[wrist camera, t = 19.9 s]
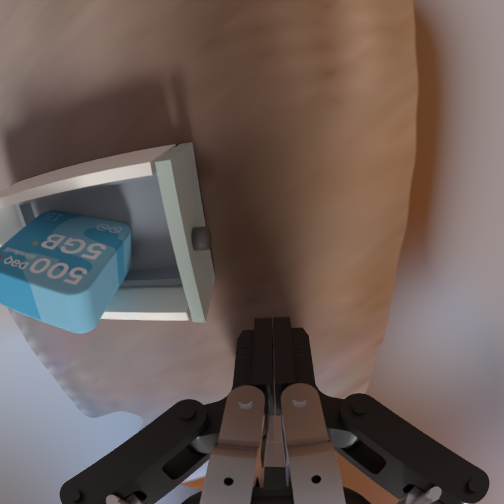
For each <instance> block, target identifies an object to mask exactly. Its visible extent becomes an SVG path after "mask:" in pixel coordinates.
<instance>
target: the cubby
mask: <svg viewBox="0 0 504 504" xmlns="http://www.w3.org/2000/svg"><path fill="white" fill-rule="evenodd" d="M175 147H176V144H173V145H167V146H161V147H155V148H149V149H144V150H138V151H133V152H128V153H123V154H119V155H114V156H109V157H105V158H101V159H96V160H92V161H88V162H84V163H80V164H76V165H73V166H69V167H65V168H61V169H58V170H54V171H51V172H48V173H44V174H41V175H38V176H35V177H31V178H28V179H25V180H22V181H19V182H17V183H15V184H14V185H12V186H10V187H9V188H7V189H5V190H4V191H2V192H0V247H1V246H3V245H4V244H5V243H6V242H7V241H8V240H9V239H11V238H12V237H13V236H14V235H15V234H17V233H18V232H19V231H20V230H21V229H23V227H22V225H21V222H20V219H19V216H18V213H17V210H16V207H15V204H16V203H20V202H24V201H27V200H31V199H35V198H39V197H43V196H47V195H51V194H56V193H60V192H64V191H69V190H74V189H78V188H83V187H88V186H93V185H98V184H103V183H108V182H114V181H119V180H125V179H131V178H137V177H143V176H150V175H153V174H154V173H155V172H157V171H156V166H155V162H156V161H157V160H158V159H160V158H161V157H162V156H164V155H165V154H166V153H168V152H169V151H171V150H172V149H173V148H175ZM190 314H191V313H190V310H189V306H188V302H187V299H186V295H185V292H184V288H183V285H168V286H129V287H119V288H118V289H117V291H116V293H115V294H114V296H113V298H112V300H111V301H110V303H109V305H108V306H107V308H106V310H105V312H104V313H103V315H102V317H101V319H123V320H189V318H190Z"/></svg>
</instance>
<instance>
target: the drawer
mask: <svg viewBox="0 0 504 504" xmlns="http://www.w3.org/2000/svg"><path fill="white" fill-rule="evenodd" d="M155 166H156V171H157V172H155V173H154V174H153V175H150V176H143V177H137V178H131V179H125V180H119V181H114V182H108V183H103V184H98V185H93V186H88V187H83V188H78V189H74V190H69V191H64V192H60V193H56V194H51V195H47V196H43V197H39V198H35V199H31V200H27V201H24V202H20V203H16V204H15V207H16V210H17V213H18V216H19V219H20V222H21V225H22V227H23V228H24V227H25V226H26V225H28V224H29V223H30V222H31V221H33V220H34V219H35V218H36V217H38V216H39V215H40V214H42V213H44V212H47V211H60V212H66V213H71V214H77V215H82V216H88V217H94V218H99V219H105V220H110V221H116V222H121V223H125V224H127V225H128V226H129V227H130V228H131V250H132V266H131V268H130V270H129V271H128V273H127V275H126V276H125V278H124V280H123V281H122V283H121V284H120V286H119V287H129V286H168V285H183V288H184V292H185V295H186V299H187V302H188V306H189V310H190V313H191V317H192V320H193V322H206V318H207V314H208V309H209V305H210V300H211V296H212V291H213V287H214V282H215V274H214V269H213V263H212V258H211V253H210V246H211V236H210V230H209V227H208V226H206V225H205V219H204V213H203V207H202V201H201V195H200V189H199V182H198V176H197V169H196V163H195V156H194V149H193V142H190V143H183V144H179V145H178V146H176V147H175V148H173V149H172V150H171V151H169V152H168V153H166V154H165V155H164V156H162V157H161V158H160V159H158V160H157V161H156V162H155Z"/></svg>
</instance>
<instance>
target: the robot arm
mask: <svg viewBox="0 0 504 504" xmlns="http://www.w3.org/2000/svg"><path fill="white" fill-rule="evenodd" d="M273 332H274V348H273ZM273 332H272V318H255V327H254V330H243V332H242V333H241V335H240V336H239V338H238V340H237V350H236V359H235V369H234V379H233V387H232V390H231V392H230V393H229V394H228V396H226V397H225V398H224V399H222V400H220V401H218V402H214V403H210V404H206V405H203V404H202V403H200V402H199V401H196V400H192V399H186V400H182V401H179V402H178V403H176V404H175V405H173V406H172V407H171V408H170V409H168V410H167V411H166V412H164V413H163V414H162V415H161V416H159V417H158V418H157V419H155V420H154V421H153V422H151V423H150V424H149V425H147V426H146V427H145V428H143V429H142V430H141V431H139V432H138V433H137V434H135V435H134V436H133V437H131V438H130V439H129V440H127V441H126V442H124V443H123V444H122V445H120V446H119V447H117V448H116V449H115V450H113V451H112V452H110V453H109V454H107V455H106V456H104V457H103V458H102V459H100V460H99V461H97V462H96V463H94V464H93V465H91V466H90V467H88V468H87V469H85V470H84V471H82V472H81V473H79V474H78V475H76V476H75V477H73V478H71V479H70V480H68V481H67V482H65V483H64V484H63V486H62V487H61V490H60V499H61V502H62V504H154V503H156V502H157V501H158V500H160V499H161V498H162V497H164V496H165V495H166V494H167V493H168V492H170V491H171V490H173V489H174V488H175V487H176V486H178V485H179V484H180V483H181V482H183V481H184V480H185V479H186V478H188V477H189V476H190V475H191V474H192V473H194V472H195V471H196V470H197V469H198V468H199V467H201V466H202V465H203V464H204V463H205V462H206V461H207V460H209V463H208V467H207V472H206V477H205V481H204V486H203V490H202V491H201V492H198V493H196V494H194V495H192V496H191V497H189V498H188V499H186V500H185V501H184V502H183V503H182V504H371V503H370V502H368V501H367V500H366V499H365V498H364V497H363V496H361V495H360V494H359V493H357V492H355V491H353V490H351V489H349V488H346V487H343V486H342V481H341V477H340V472H339V467H338V462H337V458H336V453H335V451H337V452H338V453H339V454H340V455H342V456H343V457H344V458H345V459H346V460H348V461H349V462H350V463H351V464H353V465H354V466H355V467H357V468H358V469H359V470H360V471H362V472H363V473H364V474H366V475H367V476H368V477H370V478H371V479H372V480H373V481H375V482H376V483H377V484H379V485H380V486H381V487H383V488H384V489H385V490H387V491H388V492H390V493H391V494H392V495H394V496H395V497H397V498H398V499H399V501H398V503H397V504H475V503H477V502H478V501H480V500H481V499H482V498H483V497H484V496H485V495H486V493H487V491H488V488H489V478H488V476H487V474H486V473H485V472H484V471H483V470H481V469H480V468H478V467H476V466H475V465H473V464H471V463H470V462H468V461H466V460H465V459H463V458H461V457H460V456H459V455H457V454H455V453H454V452H452V451H451V450H449V449H447V448H446V447H444V446H443V445H441V444H440V443H438V442H437V441H435V440H434V439H432V438H431V437H429V436H428V435H426V434H424V433H423V432H422V431H420V430H419V429H417V428H416V427H414V426H413V425H411V424H410V423H408V422H407V421H405V420H404V419H402V418H401V417H399V416H398V415H396V414H395V413H393V412H392V411H391V410H389V409H388V408H386V407H385V406H383V405H382V404H381V403H379V402H378V401H376V400H375V399H374V398H372V397H371V396H369V395H366V394H361V393H357V394H352V395H350V396H348V397H347V398H345V399H339V398H333V397H329V396H327V395H325V394H323V393H322V392H320V391H319V390H318V388H317V386H316V384H315V378H314V371H313V364H312V356H311V349H310V343H309V336H308V334H307V333H306V332H305V330H304V329H303V328H291V324H290V316H289V317H273Z"/></svg>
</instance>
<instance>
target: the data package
mask: <svg viewBox="0 0 504 504" xmlns="http://www.w3.org/2000/svg"><path fill="white" fill-rule="evenodd" d="M131 266H132V250H131V228H130V227H129V226H128V225H127V224H125V223H121V222H116V221H110V220H105V219H99V218H94V217H88V216H82V215H77V214H71V213H66V212H60V211H47V212H44V213H42V214H40V215H39V216H38V217H36V218H35V219H34V220H33V221H31V222H30V223H29V224H28V225H26V226H25V227H24V228H23V229H21V230H20V231H19V232H18V233H17V234H15V235H14V236H13V237H12V238H11V239H9V240H8V241H7V242H6V243H5V244H4V245H3V246H1V247H0V303H1V304H2V305H4V306H6V307H8V308H10V309H13V310H15V311H17V312H20V313H22V314H25V315H27V316H30V317H32V318H35V319H37V320H40V321H43V322H45V323H48V324H51V325H53V326H56V327H59V328H62V329H65V330H68V331H71V332H74V333H86V332H89V331H91V330H92V329H94V328H95V327H96V326H97V324H98V322H99V320H100V319H101V317H102V315H103V313H104V312H105V310H106V308H107V306H108V305H109V303H110V301H111V300H112V298H113V296H114V294H115V293H116V291H117V289H118V288H119V286H120V284H121V283H122V281H123V280H124V278H125V276H126V275H127V273H128V271H129V270H130V268H131Z"/></svg>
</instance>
